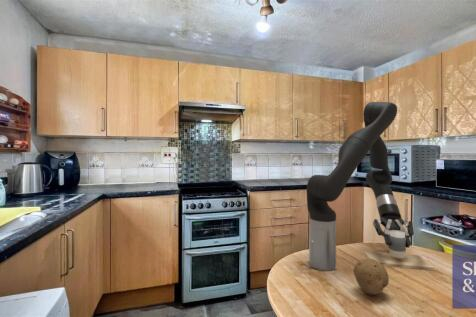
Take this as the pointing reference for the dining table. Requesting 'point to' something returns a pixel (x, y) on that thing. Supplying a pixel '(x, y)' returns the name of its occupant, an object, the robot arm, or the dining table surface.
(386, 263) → the oak board
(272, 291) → the dining table surface
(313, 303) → the dining table surface
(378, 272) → the natural sponge
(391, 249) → the grey banded cylinder
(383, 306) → the dining table surface
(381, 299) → the dining table surface
